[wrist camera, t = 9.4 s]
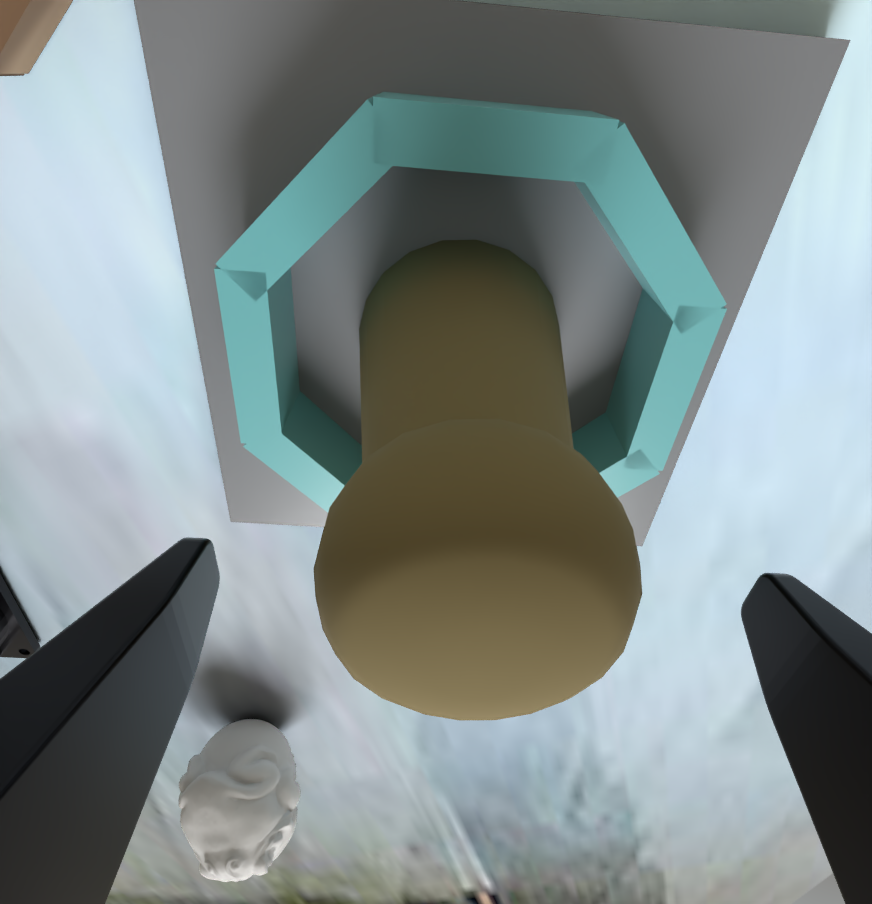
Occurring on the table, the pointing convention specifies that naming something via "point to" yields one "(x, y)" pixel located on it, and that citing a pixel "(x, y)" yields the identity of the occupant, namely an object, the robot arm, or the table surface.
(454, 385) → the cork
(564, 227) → the teal ring holder base
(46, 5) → the walnut ring
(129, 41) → the table surface
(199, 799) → the frog figurine
